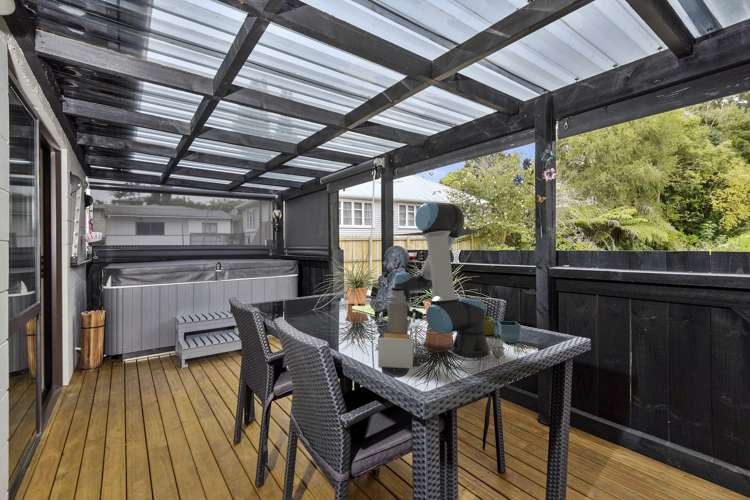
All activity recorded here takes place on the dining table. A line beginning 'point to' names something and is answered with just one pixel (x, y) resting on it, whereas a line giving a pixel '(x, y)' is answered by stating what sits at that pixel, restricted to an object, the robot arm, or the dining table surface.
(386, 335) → the pusher
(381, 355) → the white open box
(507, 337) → the flower pot
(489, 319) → the mug
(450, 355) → the dining table surface
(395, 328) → the thermos bottle
